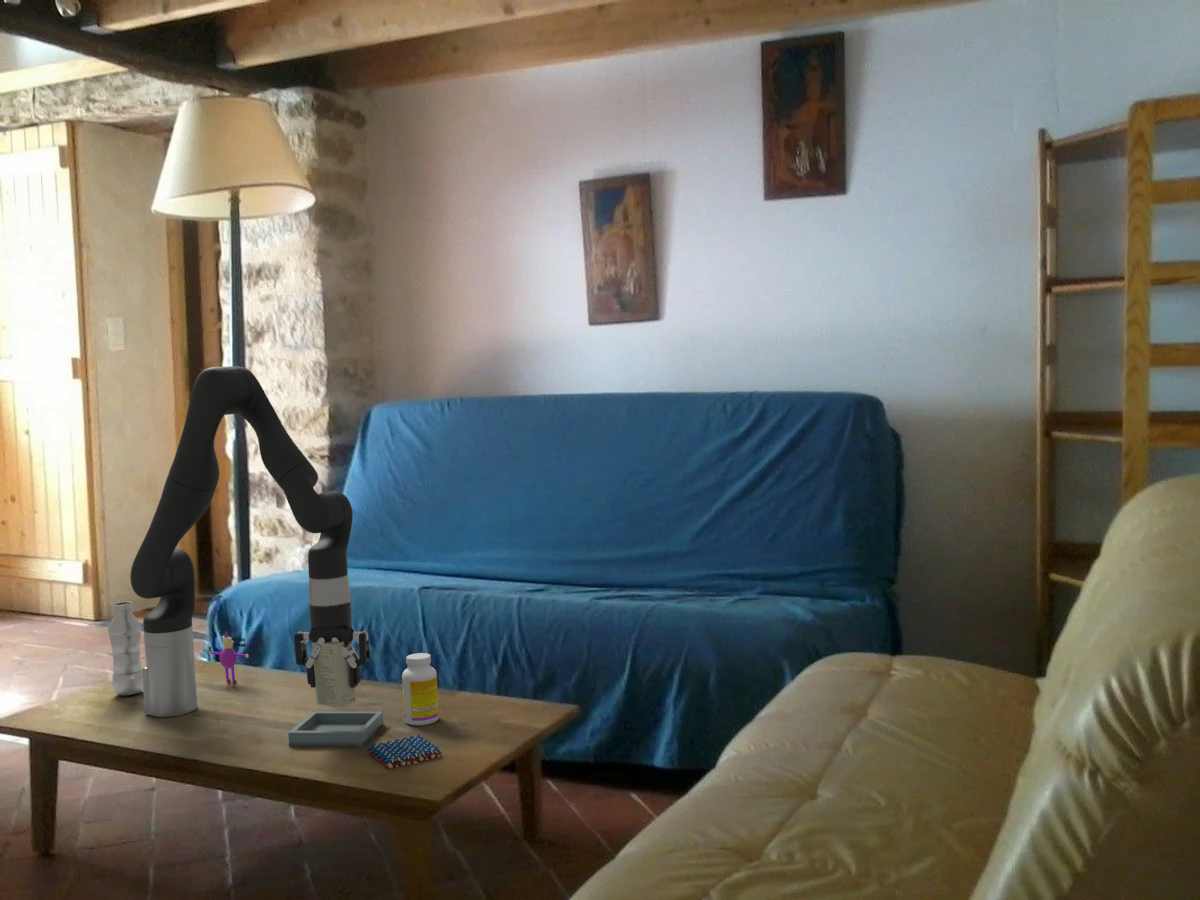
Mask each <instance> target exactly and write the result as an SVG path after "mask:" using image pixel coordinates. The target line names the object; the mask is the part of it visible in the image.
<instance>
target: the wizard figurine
mask: <svg viewBox="0 0 1200 900" xmlns="http://www.w3.org/2000/svg"><path fill="white" fill-rule="evenodd" d="M221 639H222V643H223V647H224V648H223V649H222V650H221V651H212V649H211V648H212V646H211V645H208V654H209V655H218V656H219V662H220V665H221V666H222V667H223V668H224V669H225V670H224V671H225V678H226V683H231V682H232V684H236V683H237V682H238V680H236V676H235V665H236V663H237V661H238V657H243V658H246V659H249V654H248V653H246V654H244V653H237V652H236V651H235V649H233V646H234V647H241V648H242V647H243V648H246V646H247V645H246V643H240V642H246V638H245V637H244V638H242V637H235V638H234V637H230V636H229V634H228V631H227V630H225V632H224V635H222V636H221ZM236 641H237V643H236ZM238 641H239V643H238ZM229 669H231V672H230V673H231V678H230V675H229V674H230V673H229Z"/></svg>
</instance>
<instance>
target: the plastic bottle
mask: <svg viewBox="0 0 1200 900" xmlns="http://www.w3.org/2000/svg"><path fill="white" fill-rule="evenodd" d="M133 607H134V605H133V602H132V601H122V602H121V601H120V602H116V603H114V604H113V614H114V616H113V617H112V619H111V621H110V622H109V624H108V627H107V632H108V637H109V641H110V645H111V652H112V654H113V655H112V658H113V659H112V660H113V662H112V663H113V669H112V673H113V674H112V677H111V678H112V680H111V687H112V690H113V692H114V694H116V695H118V696H131V695H136V694H139V693H141V692H143V677H142V669H143V665H142V659H141V658H142V657H141V651H140V650H141V631H142V625H141V623H140V620H139V619H138V618H137V617H136V616H135V615H134V614H133V612H134V608H133Z"/></svg>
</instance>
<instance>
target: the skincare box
mask: <svg viewBox="0 0 1200 900" xmlns="http://www.w3.org/2000/svg"><path fill="white" fill-rule="evenodd" d="M351 642H352V641H351ZM351 642H350V643H349V644H348V646H347V647H345V648H346V649H347V651H351V645H352V643H351ZM342 645H344V642H341V643H332V642H325V643H322V647H320V652H319V654H318V656H317V658H316V660H315V662H314V675H315V696H316V705H317V706H324V707H330V708H337V709H341V708H343V707H346V706H349V705H351V704H353V703H355V702H356V694H355V688H351V682H350V668H351V666H350V664H349V663H348V661H347V660H346V659H344V658H343V656H342ZM315 646H316V643H315V642H314V643H313V642H312V641H311V652H312V651H313V649H314V647H315Z"/></svg>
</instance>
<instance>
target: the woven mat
mask: <svg viewBox="0 0 1200 900" xmlns="http://www.w3.org/2000/svg"><path fill="white" fill-rule="evenodd" d="M424 738H425V737H423V736H421V735H420V734H416V735H411V736H407V737H402V738H395V740H387V741H384V742H379V743H375V744H374V743H373V744H372V745H370V746H369V747H367V750H366V751H367V752H368V755H370V756H372V757H374V759H375V760H377V761H378V762H379V763H381V764H382V765H383V766H384V768H386V769H389V770H390V769H393V768H394V767H395V768H398V767H400V766H401V767H404V766H405V765H406V764H407V765H411V764H412V763H414V764H418V763H419V762H423V761H424V760H425V761H428V760H429V758H430V759H431V760H432V759H435V758H441V754H442V753H443V752H442V751H441V749H439V747H438V746H435V744H432V743H431V742H430V741H428V740H427V739H426V738H425V739H424Z"/></svg>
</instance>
